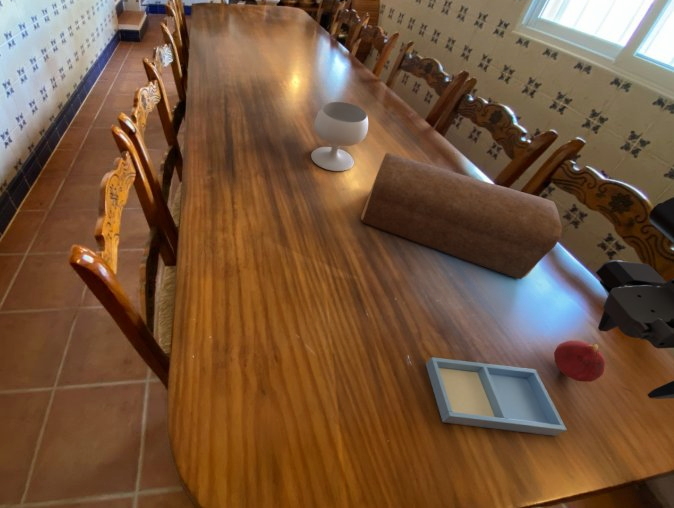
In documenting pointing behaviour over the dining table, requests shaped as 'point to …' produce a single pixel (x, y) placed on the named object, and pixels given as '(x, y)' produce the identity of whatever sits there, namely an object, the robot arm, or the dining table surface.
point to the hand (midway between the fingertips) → (624, 361)
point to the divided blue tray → (493, 397)
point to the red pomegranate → (579, 360)
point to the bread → (462, 215)
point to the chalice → (339, 134)
